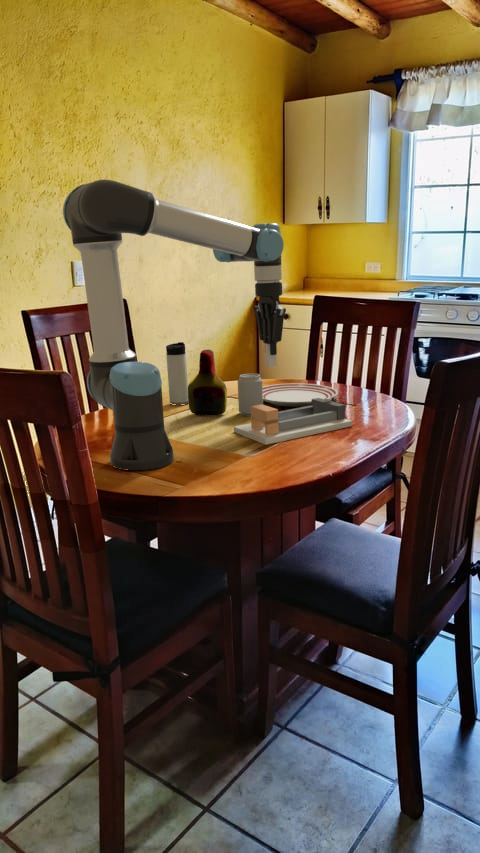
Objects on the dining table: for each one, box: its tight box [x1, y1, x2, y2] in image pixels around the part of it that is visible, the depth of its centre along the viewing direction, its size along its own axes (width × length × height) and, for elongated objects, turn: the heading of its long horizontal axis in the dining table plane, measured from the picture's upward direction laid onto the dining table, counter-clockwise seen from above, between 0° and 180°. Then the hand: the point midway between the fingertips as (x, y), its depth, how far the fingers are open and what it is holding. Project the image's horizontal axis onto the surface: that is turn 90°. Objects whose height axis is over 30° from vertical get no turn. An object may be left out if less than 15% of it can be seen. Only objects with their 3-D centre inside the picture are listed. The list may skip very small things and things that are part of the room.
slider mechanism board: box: [233, 398, 353, 445], centre depth 183 cm, size 28×16×6 cm, turn 121°
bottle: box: [188, 349, 228, 417], centre depth 201 cm, size 12×6×20 cm, turn 77°
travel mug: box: [165, 341, 189, 405], centre depth 218 cm, size 6×7×20 cm
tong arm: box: [264, 405, 314, 425], centre depth 187 cm, size 17×2×2 cm, turn 121°
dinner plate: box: [262, 382, 339, 408], centre depth 219 cm, size 27×27×3 cm
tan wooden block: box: [250, 404, 279, 435], centre depth 176 cm, size 4×8×6 cm, turn 31°
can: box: [237, 373, 264, 417], centre depth 202 cm, size 8×8×12 cm
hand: (271, 365), depth 191 cm, fingers closed
